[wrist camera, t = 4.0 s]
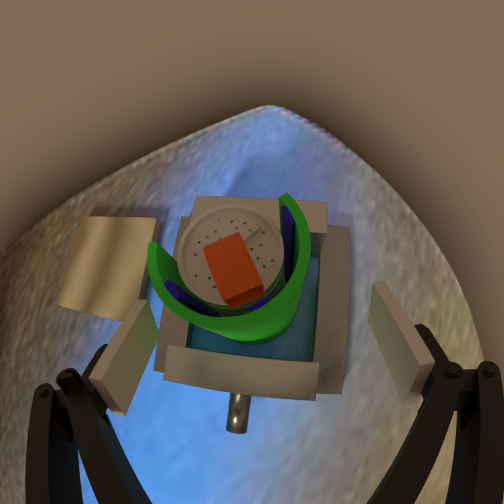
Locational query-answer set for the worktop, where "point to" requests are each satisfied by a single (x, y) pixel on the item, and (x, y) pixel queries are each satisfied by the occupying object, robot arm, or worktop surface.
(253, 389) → the vise
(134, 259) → the board
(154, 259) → the green-shelled ribbed roller
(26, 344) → the worktop surface
